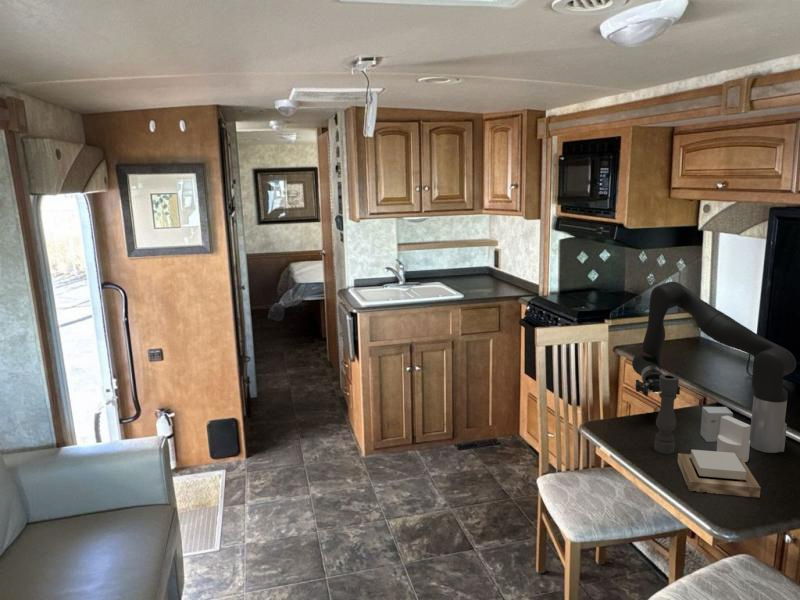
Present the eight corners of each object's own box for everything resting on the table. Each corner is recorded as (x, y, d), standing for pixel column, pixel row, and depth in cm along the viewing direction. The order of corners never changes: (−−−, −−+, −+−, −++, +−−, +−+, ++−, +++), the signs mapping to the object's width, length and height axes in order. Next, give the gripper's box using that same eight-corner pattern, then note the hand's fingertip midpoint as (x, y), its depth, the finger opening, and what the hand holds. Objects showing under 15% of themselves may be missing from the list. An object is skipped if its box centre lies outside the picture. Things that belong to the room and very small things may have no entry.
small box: (724, 435, 208) (726, 406, 206) (731, 442, 203) (733, 412, 201) (699, 435, 209) (702, 406, 207) (706, 442, 204) (708, 412, 202)
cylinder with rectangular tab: (709, 452, 196) (712, 418, 194) (731, 448, 199) (734, 413, 196) (733, 465, 188) (736, 428, 185) (755, 460, 191) (758, 424, 188)
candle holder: (650, 446, 202) (654, 374, 197) (668, 444, 202) (673, 373, 197) (660, 454, 196) (665, 380, 191) (678, 453, 196) (683, 379, 191)
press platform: (733, 460, 183) (734, 452, 183) (745, 479, 172) (746, 471, 171) (690, 457, 186) (691, 449, 186) (699, 475, 175) (700, 467, 174)
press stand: (740, 467, 186) (741, 458, 185) (759, 497, 169) (760, 487, 168) (677, 462, 190) (678, 453, 190) (689, 491, 173) (690, 481, 173)
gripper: (633, 367, 224) (638, 382, 209) (674, 370, 221) (683, 385, 205) (631, 386, 226) (637, 403, 210) (673, 389, 222) (681, 406, 207)
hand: (660, 394), depth 208 cm, fingers open, 8 cm apart
